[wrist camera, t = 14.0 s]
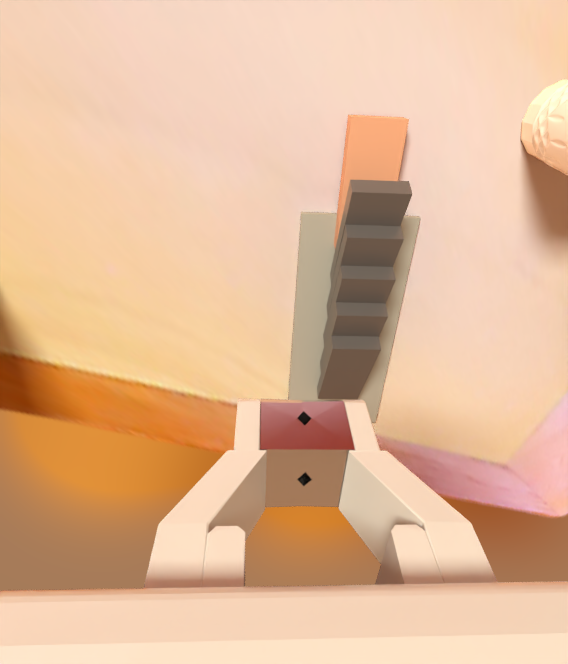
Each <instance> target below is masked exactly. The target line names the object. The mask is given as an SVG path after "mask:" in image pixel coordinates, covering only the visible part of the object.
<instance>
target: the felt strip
mask: <svg viewBox="0 0 568 664" xmlns="http://www.w3.org/2000/svg"><path fill="white" fill-rule="evenodd" d="M336 219H337V213H319V212H301V224H300V238H299V252H298V266H297V280H296V295H295V309H294V323H293V337H292V351H291V365H290V379H289V394H288V400H341V401H342V400H364V401H365V402H366V406H367V409H368V412H369V415H370V419H371V422H372V423H376V418H377V414H378V409H379V405H380V400H381V395H382V391H383V386H384V382H385V377H386V373H387V368H388V364H389V359H390V355H391V350H392V345H393V341H394V336H395V332H396V327H397V323H398V318H399V314H400V309H401V304H402V300H403V295H404V291H405V286H406V282H407V277H408V273H409V268H410V263H411V259H412V254H413V250H414V245H415V241H416V236H417V232H418V227H419V222H420V217H419V216H404V218H403V220H402V223H401V229H402V233H403V237H404V240H403V243H402V245H401V248H400V250H399V253H398V255H397V258H396V260H395V263H394V265H393V269H394V274H395V279H396V281H395V283H394V285H393V288H392V290H391V292H390V295H389V297H388V299H387V302H386V308H387V313H388V318H387V320H386V322H385V325H384V327H383V329H382V331H381V334H380V336H379V340H380V346H381V351H380V353H379V355H378V357H377V360H376V362H375V364H374V366H373V368H372V370H371V372H370V374H369V376H368V378H367V380H366V383H365V385H364V387H363V389H362V391H361V393H360V395H359V397H358V399H318V396H317V386H318V382H319V378H320V375H321V370H320V360H321V356H322V352H323V349H324V339H323V333H324V330H325V326H326V322H327V318H328V317H327V301H328V297H329V293H330V289H331V279H330V272H331V267H332V262H333V258H334V253H335V247H334V237H335V228H336Z"/></svg>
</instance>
